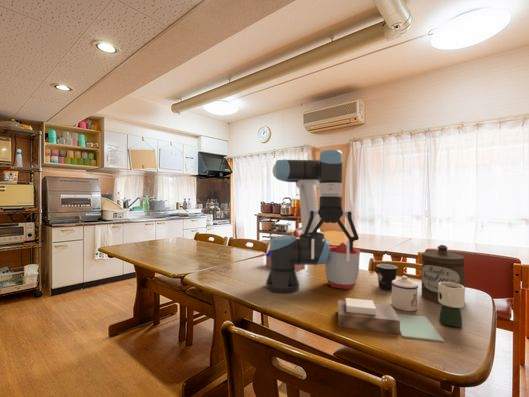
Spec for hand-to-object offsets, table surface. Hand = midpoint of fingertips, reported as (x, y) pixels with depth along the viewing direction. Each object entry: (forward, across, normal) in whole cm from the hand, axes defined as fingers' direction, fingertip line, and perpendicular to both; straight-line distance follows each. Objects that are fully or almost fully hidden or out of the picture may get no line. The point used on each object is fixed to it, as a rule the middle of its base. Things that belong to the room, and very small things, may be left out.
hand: (330, 259), depth 94 cm
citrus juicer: (+20, +5, +37) cm, 42 cm away
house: (+21, -25, +60) cm, 68 cm away
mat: (+20, +27, 0) cm, 33 cm away
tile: (+16, +10, 0) cm, 19 cm away
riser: (+20, +12, 0) cm, 23 cm away
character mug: (+20, +39, +5) cm, 44 cm away
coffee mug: (+20, +25, +39) cm, 50 cm away
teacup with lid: (+20, +28, +18) cm, 39 cm away
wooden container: (+20, +45, +30) cm, 58 cm away
